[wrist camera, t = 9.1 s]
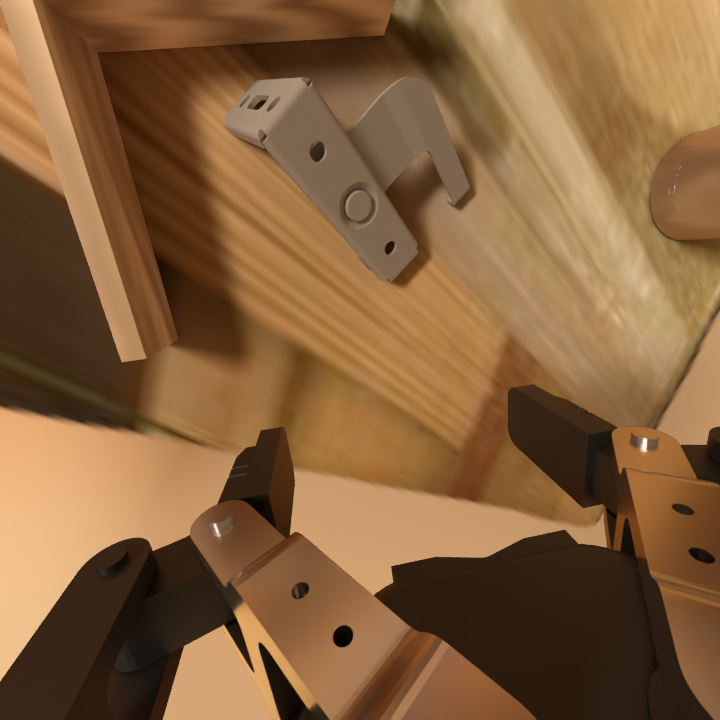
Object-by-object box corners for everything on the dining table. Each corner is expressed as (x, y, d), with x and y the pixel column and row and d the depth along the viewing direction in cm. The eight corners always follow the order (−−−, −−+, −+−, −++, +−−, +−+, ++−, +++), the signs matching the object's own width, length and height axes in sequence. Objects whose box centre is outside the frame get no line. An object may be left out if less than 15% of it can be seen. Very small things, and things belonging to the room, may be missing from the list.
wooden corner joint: (381, 5, 25) (402, -73, 19) (405, 307, 31) (427, 317, 25) (29, 23, 22) (-68, -60, 17) (134, 345, 29) (90, 366, 23)
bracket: (315, 5, 24) (391, -28, 17) (407, 171, 35) (478, 191, 28) (221, 123, 25) (257, 136, 18) (338, 249, 36) (389, 288, 29)
